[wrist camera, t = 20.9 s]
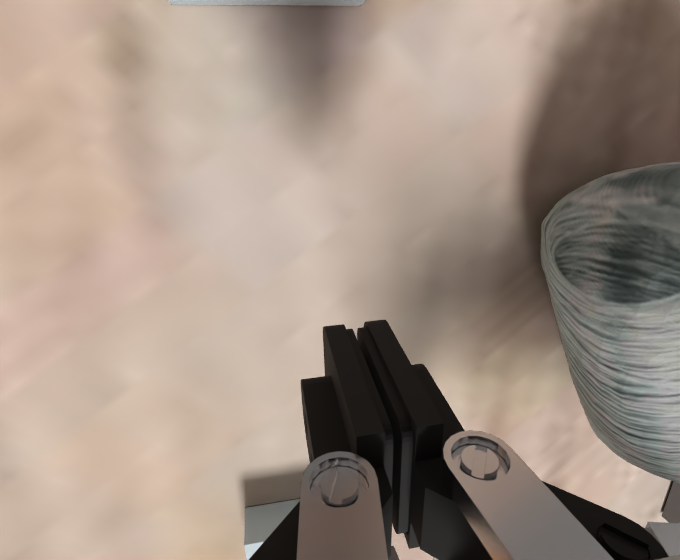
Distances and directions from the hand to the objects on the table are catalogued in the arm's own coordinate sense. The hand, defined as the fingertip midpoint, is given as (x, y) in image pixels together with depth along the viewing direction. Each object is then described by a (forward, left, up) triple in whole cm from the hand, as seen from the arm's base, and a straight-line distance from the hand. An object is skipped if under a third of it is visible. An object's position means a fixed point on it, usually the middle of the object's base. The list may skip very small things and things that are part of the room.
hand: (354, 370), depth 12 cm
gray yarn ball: (+2, +14, -7) cm, 15 cm away
